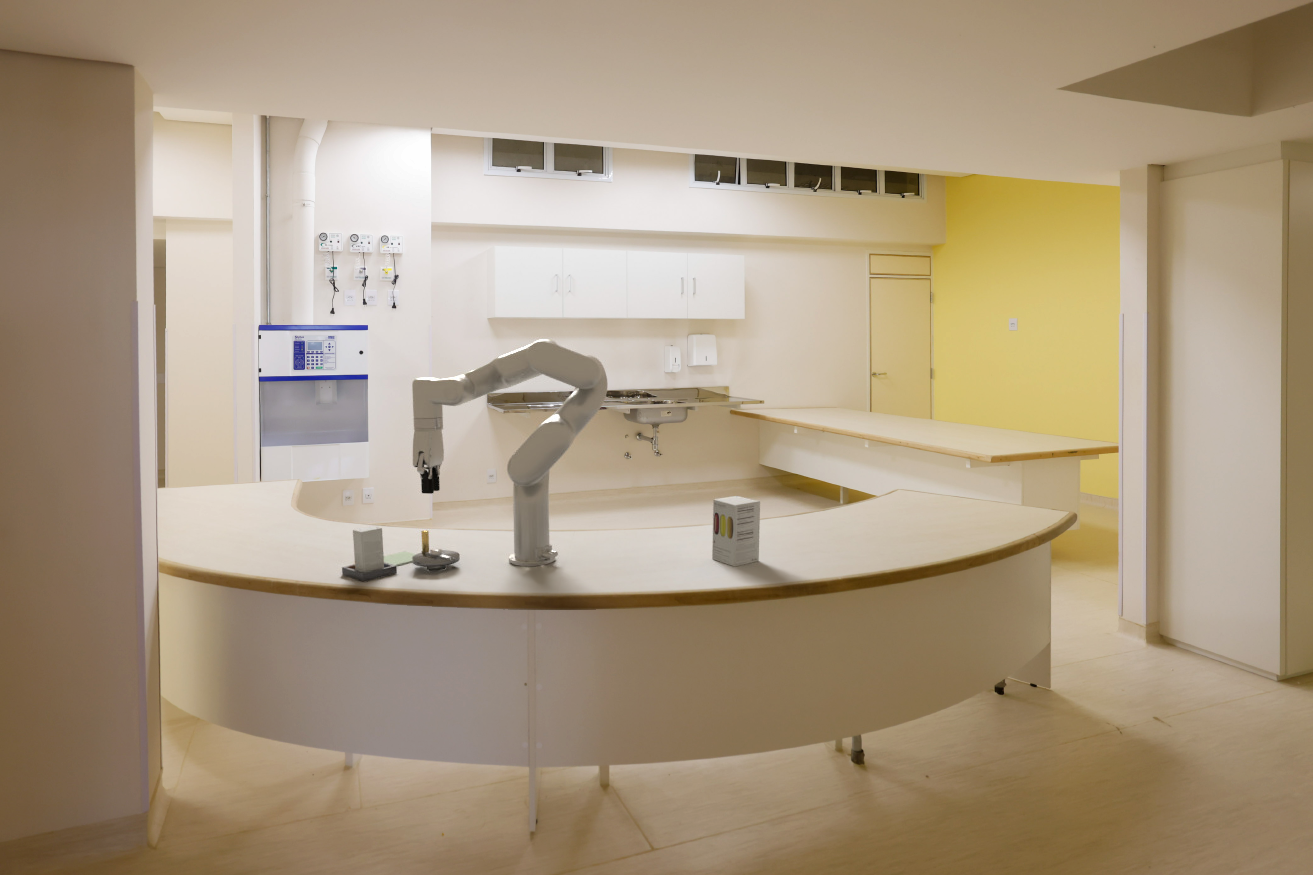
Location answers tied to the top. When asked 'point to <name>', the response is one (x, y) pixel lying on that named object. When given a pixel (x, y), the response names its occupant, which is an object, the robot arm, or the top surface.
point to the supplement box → (736, 530)
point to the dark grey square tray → (370, 575)
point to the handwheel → (434, 555)
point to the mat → (399, 558)
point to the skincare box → (368, 549)
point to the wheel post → (436, 568)
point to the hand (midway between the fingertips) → (430, 491)
